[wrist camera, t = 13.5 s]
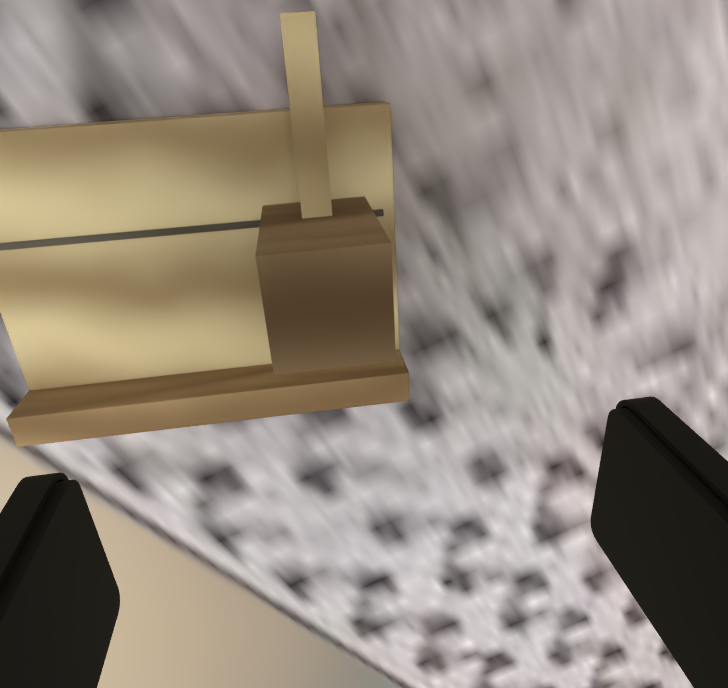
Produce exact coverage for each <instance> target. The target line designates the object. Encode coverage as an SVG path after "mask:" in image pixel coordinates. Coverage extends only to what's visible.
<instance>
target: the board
mask: <svg viewBox="0 0 728 688" xmlns="http://www.w3.org/2000/svg"><path fill="white" fill-rule="evenodd" d="M323 111H324V122H325V134H326V145H327V157H328V169H329V180H330V192H331V199H342V198H353V197H364V196H365V198H366V199H367V201H368V203H369V205H370V206H371V208H372V210H373V212H374V213H375V215H376V217H377V219H378V220H379V222H380V224H381V226H382V227H383V229H384V231H385V233H386V234H387V236H388V238H389V240H390V241H391V244H392V270H393V296H394V323H395V349H396V361H390V362H381V363H373V364H364V365H355V366H346V367H338V368H329V369H320V370H311V371H303V372H294V373H285V374H276V375H274V374H273V367H272V361H271V354H270V348H269V341H268V335H267V328H266V322H265V315H264V309H263V302H262V296H261V290H260V283H259V277H258V270H257V264H256V257H255V255H256V248H257V241H258V234H259V227H260V220H261V213H262V206H263V205H274V204H285V203H297V202H300V194H299V185H298V176H297V167H296V158H295V149H294V140H293V131H292V122H291V113H290V108H287V109H274V110H260V111H246V112H232V113H218V114H205V115H191V116H177V117H163V118H149V119H136V120H122V121H108V122H94V123H80V124H66V125H53V126H39V127H25V128H11V129H0V312H1V315H2V318H3V320H4V323H5V326H6V329H7V331H8V334H9V337H10V339H11V342H12V345H13V347H14V350H15V353H16V356H17V358H18V361H19V364H20V366H21V369H22V372H23V374H24V377H25V380H26V383H27V385H28V388H29V392H28V393H27V394H26V395H25V397H24V398H23V399H22V400H21V402H20V403H19V404H18V405H17V406H16V408H15V409H14V410H13V411H12V413H11V414H10V415H9V416H8V417H7V422H8V424H9V427H10V429H11V432H12V434H13V437H14V439H15V442H16V444H17V447H21V446H29V445H38V444H46V443H54V442H63V441H71V440H80V439H88V438H97V437H105V436H114V435H122V434H130V433H139V432H147V431H156V430H164V429H173V428H181V427H190V426H198V425H206V424H215V423H223V422H232V421H240V420H249V419H257V418H265V417H274V416H282V415H291V414H299V413H308V412H316V411H325V410H333V409H341V408H350V407H358V406H367V405H375V404H384V403H392V402H400V401H409V400H410V392H409V372H408V369H407V367H406V365H405V362H404V360H403V357H402V355H401V352H400V350H399V327H398V300H397V273H396V246H395V220H394V193H393V166H392V139H391V112H390V103H386V102H370V103H356V104H343V105H329V106H323Z"/></svg>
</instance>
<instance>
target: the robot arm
mask: <svg viewBox="0 0 728 688" xmlns="http://www.w3.org/2000/svg"><path fill="white" fill-rule="evenodd" d="M591 528H592V532H593V534H594V537H595V539H596V540H597V542H598V543H599V545H600V547H601V548H602V550H603V551H604V553H605V554H606V556H607V557H608V559H609V560H610V562H611V563H612V565H613V566H614V568H615V569H616V571H617V572H618V574H619V575H620V577H621V578H622V580H623V581H624V583H625V584H626V586H627V587H628V589H629V590H630V592H631V593H632V595H633V596H634V598H635V599H636V601H637V602H638V604H639V605H640V607H641V609H642V610H643V612H644V613H645V615H646V616H647V618H648V619H649V621H650V622H651V624H652V625H653V627H654V628H655V630H656V631H657V633H658V634H659V636H660V637H661V639H662V640H663V642H664V643H665V645H666V646H667V648H668V649H669V651H670V652H671V654H672V655H673V657H674V658H675V660H676V661H677V663H678V664H679V666H680V667H681V669H682V670H683V672H684V674H685V675H686V677H687V678H688V680H689V681H690V683H691V684H692V686H693V687H694V688H728V461H727V460H726V459H724V458H723V457H722V456H721V455H720V454H719V453H718V452H717V451H716V450H714V449H713V448H712V447H711V446H710V445H709V444H708V443H707V442H705V441H704V440H703V439H702V438H701V437H700V436H699V435H698V434H697V433H695V432H694V431H693V430H692V429H691V428H690V427H689V426H688V425H686V424H685V423H684V422H683V421H682V420H681V419H680V418H679V417H678V416H676V415H675V414H674V413H673V412H672V411H671V410H670V409H669V408H667V407H666V406H665V405H664V404H663V403H662V402H661V401H660V400H658V399H657V398H655V397H644V398H636V399H628V400H622V401H620V402H619V403H618V404H617V406H616V409H613V410H611V411H610V413H609V415H608V419H607V425H606V431H605V437H604V443H603V449H602V455H601V461H600V467H599V472H598V478H597V484H596V490H595V496H594V502H593V508H592V514H591ZM119 606H120V594H119V589H118V586H117V584H116V581H115V579H114V576H113V573H112V570H111V567H110V565H109V562H108V560H107V557H106V554H105V552H104V549H103V546H102V543H101V541H100V538H99V535H98V532H97V530H96V527H95V525H94V522H93V519H92V516H91V514H90V511H89V508H88V505H87V503H86V500H85V497H84V495H83V492H82V489H81V487H80V485H79V483H78V482H77V481H76V480H68V478H67V476H66V475H65V474H64V473H53V474H45V475H38V476H30V477H25V478H23V479H22V480H21V481H20V482H19V484H18V485H17V487H16V488H15V490H14V492H13V493H12V495H11V497H10V498H9V500H8V501H7V503H6V505H5V506H4V508H3V510H2V511H1V513H0V688H97V685H98V682H99V679H100V675H101V672H102V668H103V665H104V661H105V658H106V654H107V651H108V647H109V644H110V640H111V637H112V633H113V630H114V626H115V623H116V620H117V616H118V612H119Z"/></svg>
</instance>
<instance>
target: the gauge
mask: <svg viewBox="0 0 728 688" xmlns="http://www.w3.org/2000/svg"><path fill="white" fill-rule="evenodd" d="M279 14H280V23H281V32H282V41H283V50H284V59H285V68H286V77H287V86H288V95H289V104H290V113H291V122H292V131H293V140H294V149H295V158H296V167H297V176H298V185H299V194H300V202H297V203H285V204H274V205H263V206H262V213H261V220H260V227H259V234H258V241H257V248H256V255H255V257H256V264H257V270H258V277H259V283H260V290H261V296H262V302H263V309H264V315H265V322H266V328H267V335H268V341H269V348H270V354H271V361H272V367H273V374H274V375H276V374H285V373H294V372H303V371H311V370H320V369H329V368H338V367H346V366H355V365H364V364H373V363H381V362H390V361H396V349H395V323H394V296H393V270H392V244H391V241H390V240H389V238H388V236H387V234H386V233H385V231H384V229H383V227H382V226H381V224H380V222H379V220H378V219H377V217H376V215H375V213H374V212H373V210H372V208H371V206H370V205H369V203H368V201H367V199H366V198H365V196H364V197H353V198H342V199H331V192H330V180H329V169H328V157H327V145H326V134H325V122H324V111H323V99H322V87H321V76H320V64H319V52H318V41H317V29H316V17H315V11H309V12H293V13H279Z"/></svg>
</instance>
